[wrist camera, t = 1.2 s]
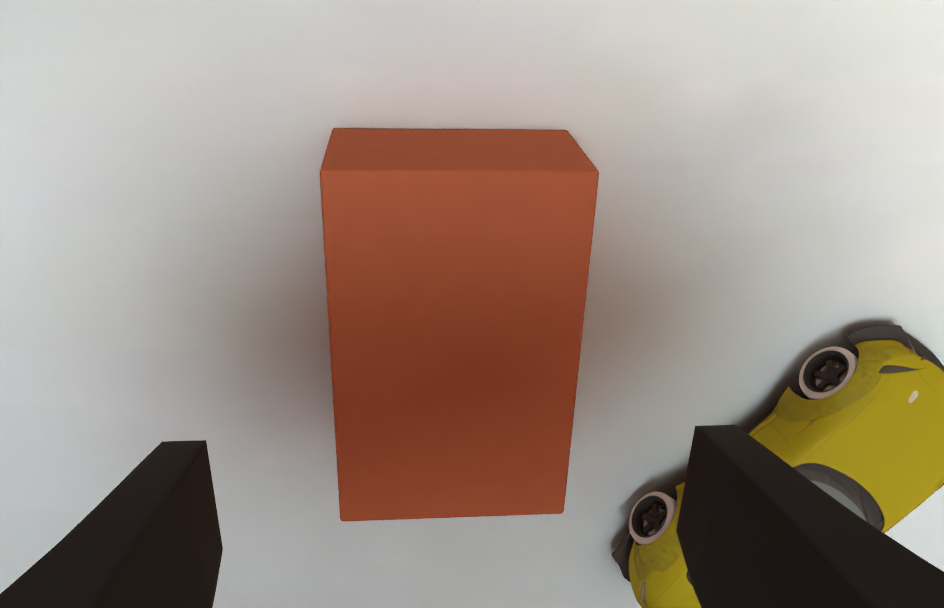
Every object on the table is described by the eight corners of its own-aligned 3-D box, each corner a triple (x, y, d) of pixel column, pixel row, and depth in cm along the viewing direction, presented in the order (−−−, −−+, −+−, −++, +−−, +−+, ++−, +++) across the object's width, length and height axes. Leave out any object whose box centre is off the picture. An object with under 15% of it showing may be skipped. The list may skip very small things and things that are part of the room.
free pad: (568, 129, 17) (600, 170, 14) (542, 435, 20) (564, 514, 18) (332, 127, 16) (319, 170, 14) (348, 440, 20) (340, 522, 17)
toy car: (980, 402, 21) (1066, 474, 18) (700, 619, 24) (738, 709, 21) (872, 293, 19) (950, 356, 16) (583, 542, 22) (609, 631, 19)
